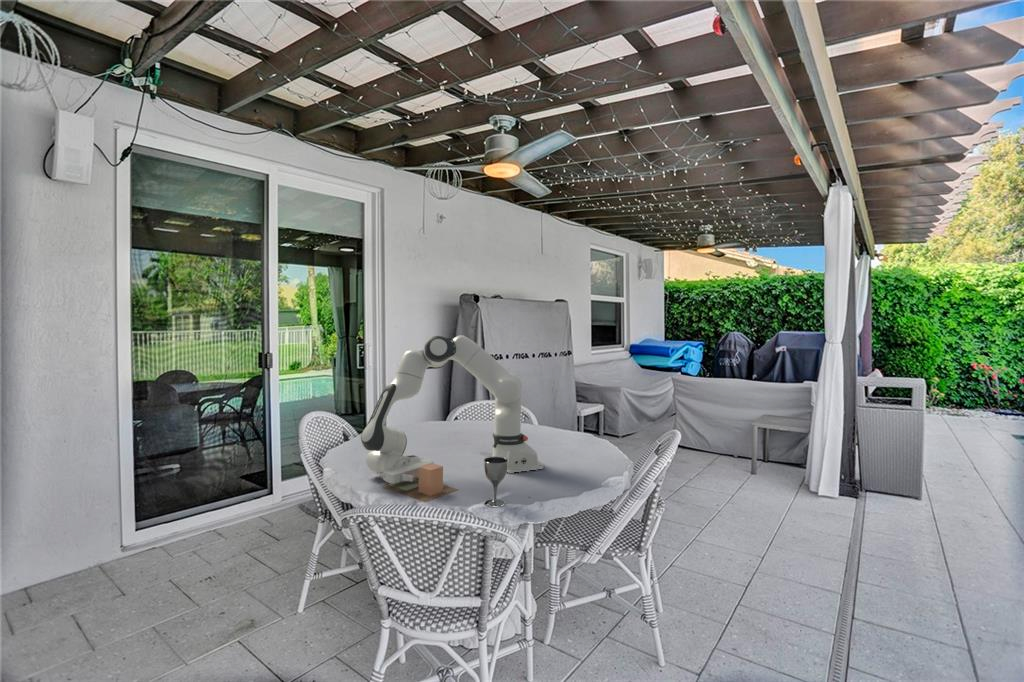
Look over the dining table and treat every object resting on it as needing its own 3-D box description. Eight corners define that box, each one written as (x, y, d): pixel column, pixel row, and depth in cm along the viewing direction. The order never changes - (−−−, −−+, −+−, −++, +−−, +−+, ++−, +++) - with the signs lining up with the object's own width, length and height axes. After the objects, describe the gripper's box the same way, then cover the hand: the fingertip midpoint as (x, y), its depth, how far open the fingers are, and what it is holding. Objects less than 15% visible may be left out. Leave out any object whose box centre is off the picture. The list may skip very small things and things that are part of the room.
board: (458, 492, 185) (458, 489, 185) (425, 504, 172) (425, 501, 172) (413, 478, 199) (413, 475, 199) (380, 488, 187) (380, 485, 187)
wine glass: (507, 507, 171) (508, 463, 170) (483, 508, 170) (484, 463, 170) (506, 499, 179) (506, 456, 178) (483, 499, 178) (483, 456, 178)
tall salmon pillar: (431, 487, 186) (431, 463, 186) (442, 491, 183) (443, 466, 182) (418, 491, 182) (418, 466, 181) (430, 495, 178) (430, 470, 177)
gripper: (375, 465, 184) (400, 473, 176) (419, 454, 200) (444, 460, 192) (375, 483, 185) (400, 492, 176) (418, 470, 201) (444, 477, 192)
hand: (423, 475), depth 184 cm, fingers open, 8 cm apart
